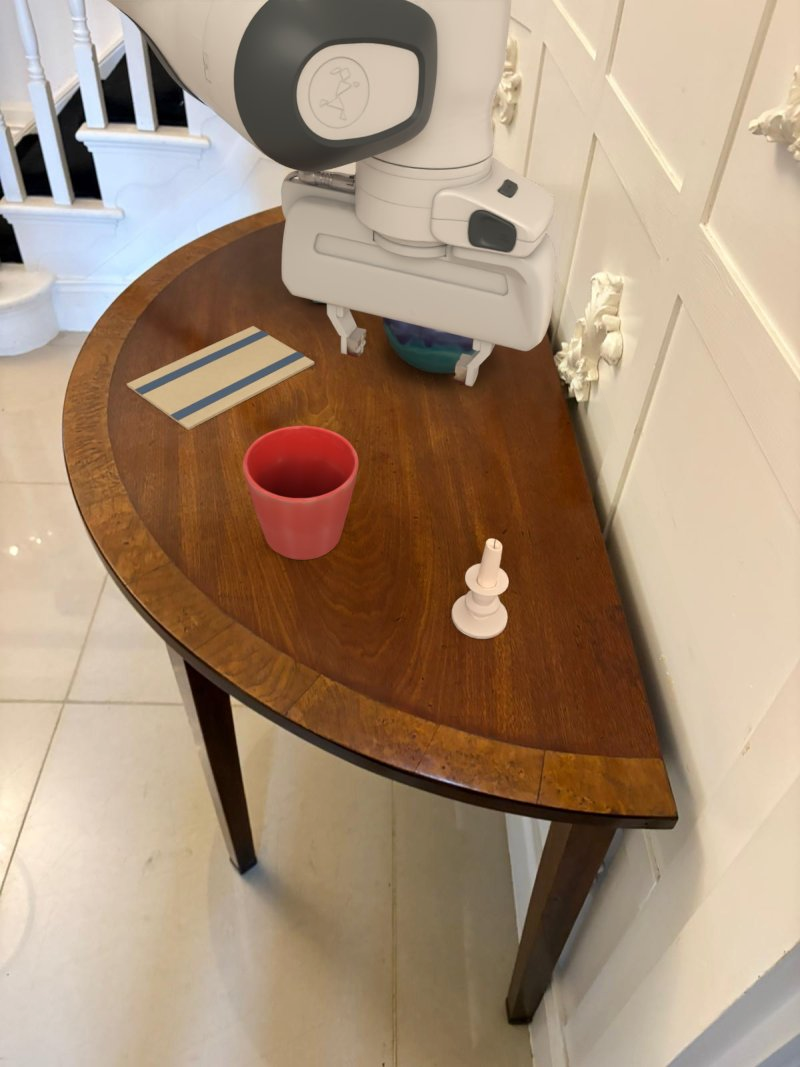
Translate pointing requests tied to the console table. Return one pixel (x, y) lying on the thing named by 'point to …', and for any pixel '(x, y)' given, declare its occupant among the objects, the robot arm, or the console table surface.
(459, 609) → the candle
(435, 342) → the vase
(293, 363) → the cloth
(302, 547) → the flower pot
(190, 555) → the console table surface
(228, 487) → the console table surface
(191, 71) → the robot arm
